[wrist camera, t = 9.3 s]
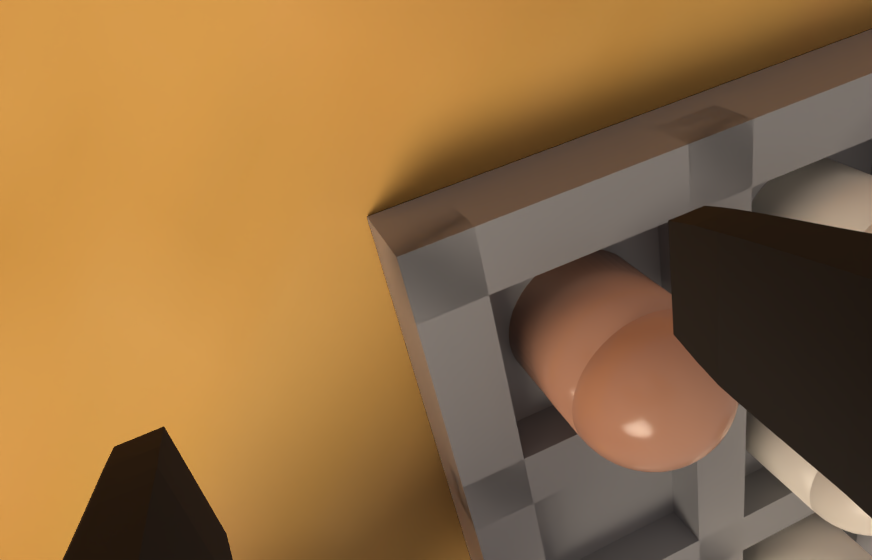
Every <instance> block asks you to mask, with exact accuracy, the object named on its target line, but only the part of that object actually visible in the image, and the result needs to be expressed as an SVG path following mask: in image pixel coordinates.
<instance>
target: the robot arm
mask: <svg viewBox="0 0 872 560" xmlns="http://www.w3.org/2000/svg"><path fill="white" fill-rule="evenodd" d="M668 229H669V250H670V272H671V293H672V315H673V334H674V336H675V337H676V338H677V339H678V340H679V341H680V343H681V344H682V345H683V346H684V347H685V349H686V350H687V351H688V352H689V353H690V354H691V356H692V357H693V358H694V359H695V360H696V361H697V363H698V364H699V365H700V366H701V367H702V368H703V369H704V370H705V371H706V372H707V373H708V375H709V376H710V377H711V378H712V379H713V380H714V381H715V382H716V383H717V384H718V385H719V386H720V387H721V388H722V389H723V390H724V391H725V392H727V393H728V394H729V395H730V396H731V397H732V398H733V399H734V400H736V401H737V402H738V403H739V404H740V405H741V406H743V407H744V408H745V409H746V410H747V411H748V412H749V413H751V414H752V415H753V416H754V417H755V418H756V419H758V420H759V421H760V422H761V423H762V424H763V425H765V426H766V427H767V428H768V429H769V430H770V431H772V432H773V433H774V434H775V435H776V436H777V437H779V438H780V439H781V440H782V441H783V442H785V443H786V444H787V445H788V446H789V447H790V448H792V449H793V450H794V451H795V452H796V453H798V454H799V455H800V456H801V457H802V458H803V459H805V460H806V461H807V462H808V463H809V464H810V465H812V466H813V467H814V468H815V469H816V470H818V471H819V472H820V473H821V474H822V475H823V476H825V477H826V478H827V479H828V480H829V481H830V482H832V483H833V484H834V485H835V486H836V487H838V488H839V489H840V490H841V491H842V492H843V493H844V494H846V495H847V496H848V497H849V498H850V499H851V500H852V501H853V502H854V503H855V504H856V505H858V506H859V507H860V508H861V509H862V510H863V511H864V512H865V513H866V514H867V515H868V516H869V517H871V518H872V233H866V232H860V231H855V230H849V229H844V228H838V227H833V226H828V225H822V224H817V223H812V222H806V221H801V220H796V219H790V218H785V217H780V216H774V215H768V214H763V213H757V212H751V211H745V210H739V209H732V208H724V207H715V206H702V207H700V208H697V209H695V210H692V211H690V212H688V213H685V214H683V215H680V216H678V217H675V218H673V219H670V220H668ZM63 560H233V559H232V555H231V551H230V547H229V543H228V539H227V535H226V532H225V531H224V529H223V527H222V525H221V524H220V522H219V520H218V519H217V517H216V515H215V513H214V512H213V510H212V508H211V506H210V505H209V503H208V501H207V500H206V498H205V496H204V494H203V493H202V491H201V489H200V488H199V486H198V484H197V482H196V481H195V479H194V477H193V476H192V474H191V472H190V470H189V469H188V467H187V465H186V463H185V462H184V460H183V458H182V457H181V455H180V453H179V451H178V450H177V448H176V446H175V445H174V443H173V441H172V439H171V438H170V436H169V434H168V433H167V431H166V429H165V427H161V428H159V429H157V430H154V431H152V432H149V433H147V434H144V435H142V436H139V437H137V438H135V439H132V440H130V441H127V442H125V443H122V444H120V445H117V446H115V447H114V448H113V450H112V452H111V454H110V456H109V458H108V461H107V463H106V465H105V467H104V469H103V471H102V473H101V476H100V478H99V480H98V482H97V485H96V487H95V489H94V491H93V494H92V496H91V498H90V500H89V503H88V505H87V507H86V509H85V512H84V514H83V516H82V518H81V521H80V523H79V525H78V527H77V529H76V532H75V534H74V536H73V538H72V541H71V543H70V545H69V547H68V549H67V551H66V554H65V556H64V558H63Z"/></svg>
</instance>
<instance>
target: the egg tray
mask: <svg viewBox="0 0 872 560" xmlns="http://www.w3.org/2000/svg"><path fill="white" fill-rule="evenodd" d="M702 206H715V207H724V208H732V209H739V210H745V211H751V212H757V213H763V214H768V215H774V216H780V217H785V218H790V219H796V220H801V221H806V222H812V223H817V224H822V225H828V226H833V227H838V228H844V229H849V230H855V231H860V232H866V233H872V29H870V30H868V31H865V32H862V33H860V34H857V35H854V36H852V37H849V38H846V39H844V40H841V41H838V42H835V43H833V44H830V45H827V46H825V47H822V48H819V49H817V50H814V51H811V52H809V53H806V54H803V55H801V56H798V57H795V58H792V59H790V60H787V61H784V62H782V63H779V64H776V65H774V66H771V67H768V68H766V69H763V70H760V71H757V72H755V73H752V74H749V75H747V76H744V77H741V78H739V79H736V80H733V81H731V82H728V83H725V84H723V85H720V86H717V87H714V88H712V89H709V90H706V91H704V92H701V93H698V94H696V95H693V96H690V97H688V98H685V99H682V100H679V101H677V102H674V103H671V104H669V105H666V106H663V107H661V108H658V109H655V110H653V111H650V112H647V113H645V114H642V115H639V116H636V117H634V118H631V119H628V120H626V121H623V122H620V123H618V124H615V125H612V126H610V127H607V128H604V129H601V130H599V131H596V132H593V133H591V134H588V135H585V136H583V137H580V138H577V139H575V140H572V141H569V142H567V143H564V144H561V145H558V146H556V147H553V148H550V149H548V150H545V151H542V152H540V153H537V154H534V155H532V156H529V157H526V158H523V159H521V160H518V161H515V162H513V163H510V164H507V165H505V166H502V167H499V168H497V169H494V170H491V171H489V172H486V173H483V174H480V175H478V176H475V177H472V178H470V179H467V180H464V181H462V182H459V183H456V184H454V185H451V186H448V187H445V188H443V189H440V190H437V191H435V192H432V193H429V194H427V195H424V196H421V197H419V198H416V199H413V200H411V201H408V202H405V203H402V204H400V205H397V206H394V207H392V208H389V209H386V210H384V211H381V212H378V213H376V214H373V215H370V216H367V219H368V222H369V226H370V229H371V232H372V235H373V239H374V242H375V245H376V249H377V252H378V255H379V258H380V262H381V265H382V268H383V272H384V275H385V278H386V281H387V285H388V288H389V291H390V295H391V298H392V301H393V305H394V308H395V311H396V314H397V318H398V321H399V324H400V328H401V331H402V334H403V337H404V341H405V344H406V347H407V351H408V354H409V357H410V360H411V364H412V367H413V370H414V374H415V377H416V380H417V383H418V387H419V390H420V393H421V397H422V400H423V403H424V407H425V410H426V413H427V416H428V420H429V423H430V426H431V430H432V433H433V436H434V439H435V443H436V446H437V449H438V453H439V456H440V459H441V462H442V466H443V469H444V472H445V476H446V479H447V482H448V485H449V489H450V492H451V495H452V499H453V502H454V505H455V509H456V512H457V515H458V518H459V522H460V525H461V528H462V532H463V535H464V538H465V541H466V545H467V548H468V551H469V555H470V558H471V560H872V518H871V517H869V516H868V515H867V514H866V513H865V512H864V511H863V510H862V509H861V508H860V507H859V506H858V505H856V504H855V503H854V502H853V501H852V500H851V499H850V498H849V497H848V496H847V495H846V494H844V493H843V492H842V491H841V490H840V489H839V488H838V487H836V486H835V485H834V484H833V483H832V482H830V481H829V480H828V479H827V478H826V477H825V476H823V475H822V474H821V473H820V472H819V471H818V470H816V469H815V468H814V467H813V466H812V465H810V464H809V463H808V462H807V461H806V460H805V459H803V458H802V457H801V456H800V455H799V454H798V453H796V452H795V451H794V450H793V449H792V448H790V447H789V446H788V445H787V444H786V443H785V442H783V441H782V440H781V439H780V438H779V437H777V436H776V435H775V434H774V433H773V432H772V431H770V430H769V429H768V428H767V427H766V426H765V425H763V424H762V423H761V422H760V421H759V420H758V419H756V418H755V417H754V416H753V415H752V414H751V413H749V412H748V411H747V410H746V409H745V408H744V407H743V406H741V405H740V404H738V408H737V412H736V416H735V419H734V421H733V423H732V426H731V427H730V429H729V431H728V432H727V434H726V435H725V437H724V438H723V440H722V441H721V442H720V443H719V444H718V446H717V447H716V448H715V449H714V450H712V451H711V452H710V453H709V454H708V455H706V456H705V457H703V458H702V459H700V460H699V461H697V462H695V463H693V464H691V465H689V466H686V467H683V468H680V469H676V470H672V471H668V472H642V471H635V470H630V469H627V468H624V467H621V466H619V465H616V464H614V463H612V462H610V461H608V460H606V459H605V458H603V457H602V456H600V455H599V454H597V453H596V452H595V451H593V450H592V449H591V448H590V447H589V446H588V445H587V444H586V443H585V442H584V441H583V440H582V439H581V437H580V436H579V435H578V434H577V433H576V431H575V430H574V429H573V428H572V427H571V425H570V424H569V423H568V422H567V421H566V420H565V418H564V417H563V416H562V415H561V414H560V412H559V411H558V410H557V409H556V408H555V406H554V405H553V404H552V403H551V402H550V400H549V399H548V398H547V397H546V396H545V394H544V393H543V392H542V391H541V390H540V388H539V387H538V386H537V385H536V384H535V382H534V381H533V380H532V379H531V378H530V376H529V375H528V374H527V373H526V372H525V370H524V369H523V368H522V367H521V366H520V364H519V363H518V362H517V360H516V359H515V357H514V355H513V353H512V350H511V347H510V342H509V326H510V320H511V316H512V312H513V310H514V307H515V305H516V302H517V301H518V299H519V297H520V295H521V293H522V292H523V291H524V289H525V288H526V286H527V285H528V284H529V283H530V281H531V280H532V279H533V278H534V277H535V276H537V275H540V274H542V273H545V272H547V271H549V270H552V269H554V268H557V267H559V266H562V265H564V264H567V263H569V262H571V261H574V260H576V259H579V258H581V257H584V256H586V255H589V254H591V253H593V252H596V251H598V250H605V251H609V252H612V253H614V254H616V255H618V256H620V257H621V258H623V259H624V260H625V261H627V262H628V263H630V264H631V265H632V266H634V267H635V268H636V269H638V270H639V271H640V272H642V273H643V274H645V275H646V276H647V277H649V278H650V279H651V280H653V281H654V282H655V283H657V284H658V285H660V286H661V287H662V288H664V289H665V290H666V291H668V292H669V293H670V294H672V293H671V272H670V250H669V229H668V220H670V219H673V218H675V217H678V216H680V215H683V214H685V213H688V212H690V211H692V210H695V209H697V208H700V207H702Z"/></svg>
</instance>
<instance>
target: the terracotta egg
mask: <svg viewBox="0 0 872 560" xmlns="http://www.w3.org/2000/svg"><path fill="white" fill-rule="evenodd" d="M509 342H510V347H511V350H512V353H513V355H514V357H515V359H516V360H517V362H518V363H519V364H520V366H521V367H522V368H523V369H524V370H525V372H526V373H527V374H528V375H529V376H530V378H531V379H532V380H533V381H534V382H535V384H536V385H537V386H538V387H539V388H540V390H541V391H542V392H543V393H544V394H545V396H546V397H547V398H548V399H549V400H550V402H551V403H552V404H553V405H554V406H555V408H556V409H557V410H558V411H559V412H560V414H561V415H562V416H563V417H564V418H565V420H566V421H567V422H568V423H569V424H570V425H571V427H572V428H573V429H574V430H575V431H576V433H577V434H578V435H579V436H580V437H581V439H582V440H583V441H584V442H585V443H586V444H587V445H588V446H589V447H590V448H591V449H592V450H593V451H595V452H596V453H597V454H599V455H600V456H602V457H603V458H605V459H606V460H608V461H610V462H612V463H614V464H616V465H619V466H621V467H624V468H627V469H630V470H635V471H642V472H668V471H672V470H676V469H680V468H683V467H686V466H689V465H691V464H693V463H695V462H697V461H699V460H700V459H702V458H703V457H705V456H706V455H708V454H709V453H710V452H711V451H712V450H714V449H715V448H716V447H717V446H718V444H719V443H720V442H721V441H722V440H723V438H724V437H725V435H726V434H727V432H728V431H729V429H730V427H731V426H732V423H733V421H734V419H735V416H736V412H737V408H738V404H739V403H738V402H737V401H736V400H734V399H733V398H732V397H731V396H730V395H729V394H728V393H727V392H725V391H724V390H723V389H722V388H721V387H720V386H719V385H718V384H717V383H716V382H715V381H714V380H713V379H712V378H711V377H710V376H709V375H708V373H707V372H706V371H705V370H704V369H703V368H702V367H701V366H700V365H699V364H698V363H697V361H696V360H695V359H694V358H693V357H692V356H691V354H690V353H689V352H688V351H687V350H686V349H685V347H684V346H683V345H682V344H681V343H680V341H679V340H678V339H677V338H676V337H675V336H674V334H673V315H672V294H670V293H669V292H668V291H666V290H665V289H664V288H662V287H661V286H660V285H658V284H657V283H655V282H654V281H653V280H651V279H650V278H649V277H647V276H646V275H645V274H643V273H642V272H640V271H639V270H638V269H636V268H635V267H634V266H632V265H631V264H630V263H628V262H627V261H625V260H624V259H623V258H621V257H620V256H618V255H616V254H614V253H612V252H609V251H605V250H598V251H596V252H593V253H591V254H589V255H586V256H584V257H581V258H579V259H576V260H574V261H571V262H569V263H567V264H564V265H562V266H559V267H557V268H554V269H552V270H549V271H547V272H545V273H542V274H540V275H537V276H535V277H534V278H533V279H532V280H531V281H530V283H529V284H528V285H527V286H526V288H525V289H524V291H523V292H522V293H521V295H520V297H519V299H518V301H517V302H516V305H515V307H514V310H513V312H512V316H511V320H510V326H509Z"/></svg>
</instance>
